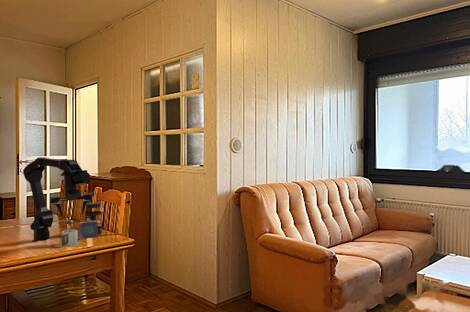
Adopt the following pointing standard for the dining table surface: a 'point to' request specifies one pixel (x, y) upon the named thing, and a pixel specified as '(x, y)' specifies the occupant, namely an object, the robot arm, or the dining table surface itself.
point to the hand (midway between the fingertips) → (72, 215)
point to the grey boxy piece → (69, 237)
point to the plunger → (69, 224)
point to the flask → (88, 229)
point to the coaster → (68, 246)
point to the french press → (95, 213)
